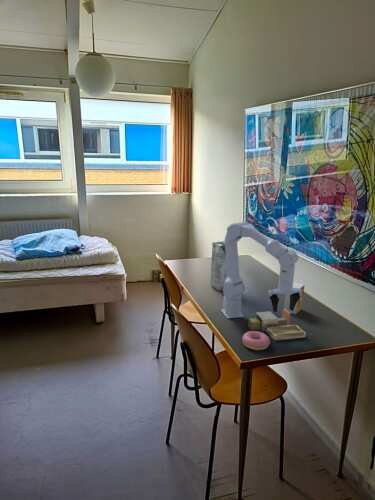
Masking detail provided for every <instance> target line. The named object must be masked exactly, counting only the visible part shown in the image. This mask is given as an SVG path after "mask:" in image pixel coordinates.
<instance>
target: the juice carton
mask: <svg viewBox="0 0 375 500" xmlns="http://www.w3.org/2000/svg"><path fill="white" fill-rule="evenodd" d="M211 245H212V246H211V247H212V248H211V249H212V250H211V267H210V268H211V269H210V286H211V287H212V288H214V289H215V290H217V292H219V291H223V289H224V282H225V281H226V279H227V264H226V251H225V240H223V241H215V242H212V244H211Z"/></svg>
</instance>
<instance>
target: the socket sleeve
mask: <svg viewBox="0 0 375 500" xmlns="http://www.w3.org/2000/svg"><path fill="white" fill-rule="evenodd" d="M254 318H260V319H261V320H262V325H261V329H260V330H261V332H267V328H269V327H274V326H278V318H279V317H278V316H276V315H275V314H274V313H273V312H272V311H258V312H255V317H254Z"/></svg>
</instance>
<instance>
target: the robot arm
mask: <svg viewBox="0 0 375 500" xmlns="http://www.w3.org/2000/svg"><path fill="white" fill-rule="evenodd" d="M242 238H251V239H252V240H254V241H255V242H257V243H258V244H260V245H262V246H263V247H264V248H265V252H267V253H268V254H269V255H271V256H272V257H273V258H275V259H276V260H278V264H279V265H280V266H279V276H278V277H279V278H278V286H277V288H273V289H268V290H267V295H268V297H269V298H270V302H271V304H272V305H271V306H272V311H273V312H274V313H277V311H278V306H279V305H278V304H279V301H280V298H279V296H280V295H281V296H282V295H285V296H286V294H287V295H290V305H289V309H290V310H291V311H293V310H294V307H295V305H296V303H297V301H298V300H299V299H300V295H299V294H302V289H300V288H293V282H294V279H295V269H296V267H295V266H296V263H297V262H298V260H299V256H298V253H297V252H296V251H295V250H293V249H290V250H289V248H288V247H284V246H283V244H281V243H280V241H279V240H275V239H272V240H270V239H269V238H268V237H266V235H264V234H263V233H261V232H260V231H259V230H258V229H257V228H256V227H255V226H254V224H252V223H250V222H249V221H247V220H243V221H239V222H236V223H235V222H233V223H230V224H229V226H227V227H226V233H225V237H224V241H225V251H226V264H227V279H226V281H225V282H224V289H223V290H222V291H223V292H222V293H223V295H224V296H223V299H222V301H223V303H222V308H221V310H220V312H222V314H223V315H224V316H225V317H226V319H236V318H237V319H238V318H244V315H243V314H242V312H241V309H242V296H243V293H244V292H245V290H246V285H245V284H244V281H243V278H242V277H241V276H240V265H239V251H238V250H239V249H238V243H239V241H240V240H241V239H242Z"/></svg>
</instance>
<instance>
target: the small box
mask: <svg viewBox="0 0 375 500" xmlns="http://www.w3.org/2000/svg"><path fill="white" fill-rule="evenodd" d="M293 288H300V289H302V294H299V295H300V299H299V300H298V301H297V303H296V305H295V307H294V310H293V311H291V310H290V309H289V305H290V295H287V294H285V298H284V306H283V309H286V310H287V311H288V312H290V313H291V314H293V315H297V314H298V313H299V312H300V311H301V310H302V308H303V301H304V292H305V284H302V283H299V282H295V281H293Z"/></svg>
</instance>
